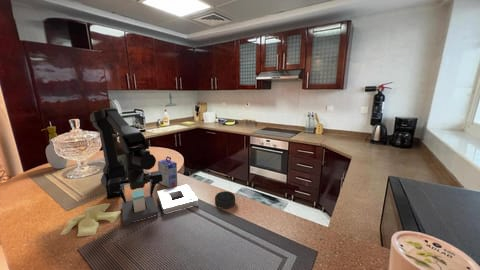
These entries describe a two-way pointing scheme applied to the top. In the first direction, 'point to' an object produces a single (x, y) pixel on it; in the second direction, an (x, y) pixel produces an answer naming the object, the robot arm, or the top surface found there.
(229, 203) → the smart speaker
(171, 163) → the ink cartridge box
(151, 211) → the dark grey flat frame
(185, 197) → the block
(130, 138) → the robot arm
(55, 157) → the soap bottle
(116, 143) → the olive oil
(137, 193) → the plug
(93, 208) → the cloth
